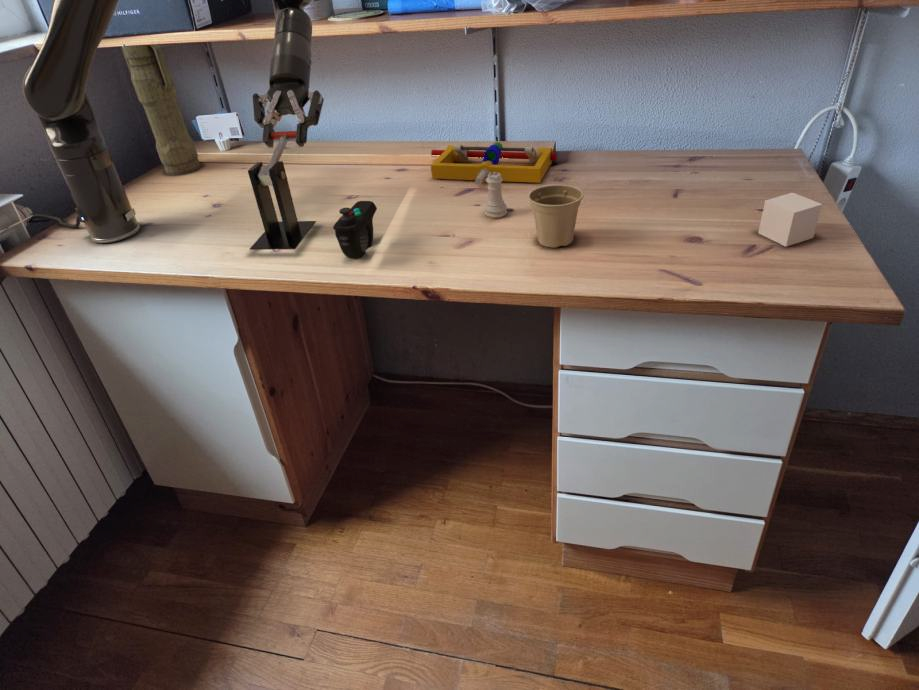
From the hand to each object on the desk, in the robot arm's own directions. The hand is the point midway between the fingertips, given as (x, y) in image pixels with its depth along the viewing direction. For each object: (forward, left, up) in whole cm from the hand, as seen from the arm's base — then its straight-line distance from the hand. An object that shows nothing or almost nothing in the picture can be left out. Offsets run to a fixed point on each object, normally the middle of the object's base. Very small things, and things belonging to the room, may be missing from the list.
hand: (284, 145), depth 120 cm
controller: (+21, -9, -16) cm, 28 cm away
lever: (+1, -4, -2) cm, 4 cm away
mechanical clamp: (+25, +33, -16) cm, 45 cm away
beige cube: (+88, +21, -16) cm, 92 cm away
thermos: (-53, +15, -16) cm, 57 cm away
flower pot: (+52, +7, -16) cm, 55 cm away
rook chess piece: (+37, +14, -16) cm, 43 cm away
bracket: (+3, -9, -15) cm, 18 cm away
